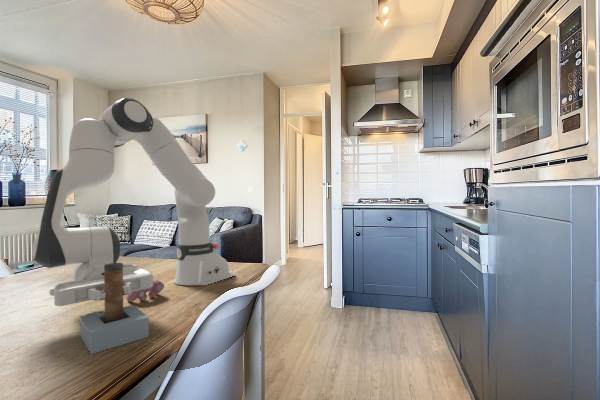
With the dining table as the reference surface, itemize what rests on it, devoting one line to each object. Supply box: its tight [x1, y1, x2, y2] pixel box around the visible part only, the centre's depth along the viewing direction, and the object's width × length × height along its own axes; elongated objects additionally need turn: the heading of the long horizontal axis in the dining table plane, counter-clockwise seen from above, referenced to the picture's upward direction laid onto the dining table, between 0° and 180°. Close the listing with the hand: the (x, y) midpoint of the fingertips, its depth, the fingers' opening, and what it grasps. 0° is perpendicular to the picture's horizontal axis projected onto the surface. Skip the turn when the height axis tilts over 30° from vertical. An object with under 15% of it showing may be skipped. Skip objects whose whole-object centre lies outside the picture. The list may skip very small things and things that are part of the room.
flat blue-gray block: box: [80, 304, 150, 355], centre depth 69 cm, size 11×11×4 cm
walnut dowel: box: [104, 262, 124, 324], centre depth 69 cm, size 4×4×15 cm
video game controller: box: [126, 279, 165, 303], centre depth 94 cm, size 10×5×7 cm, turn 149°
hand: (115, 293), depth 68 cm, fingers closed on walnut dowel, 4 cm apart
